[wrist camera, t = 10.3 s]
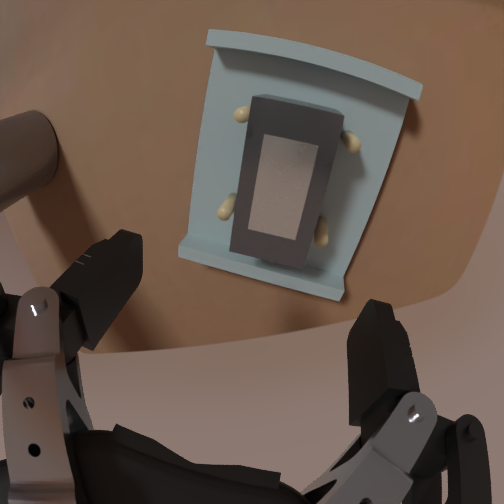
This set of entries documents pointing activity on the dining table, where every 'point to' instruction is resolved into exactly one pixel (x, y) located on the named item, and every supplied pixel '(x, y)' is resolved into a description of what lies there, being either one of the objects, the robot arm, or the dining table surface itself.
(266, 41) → the tray
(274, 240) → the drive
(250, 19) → the dining table surface
